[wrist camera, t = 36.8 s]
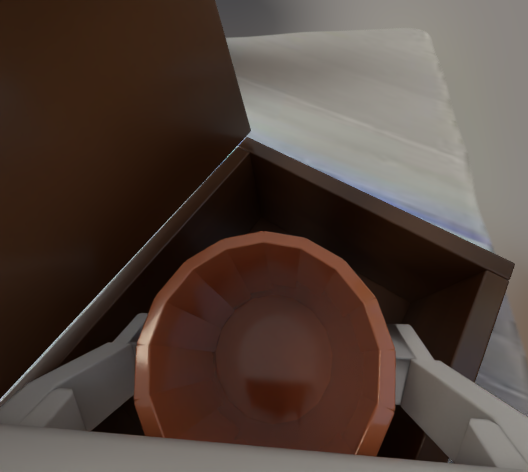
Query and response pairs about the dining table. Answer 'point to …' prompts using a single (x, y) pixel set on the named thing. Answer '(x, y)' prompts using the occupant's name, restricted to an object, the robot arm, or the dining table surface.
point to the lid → (99, 147)
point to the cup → (267, 351)
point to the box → (330, 238)
